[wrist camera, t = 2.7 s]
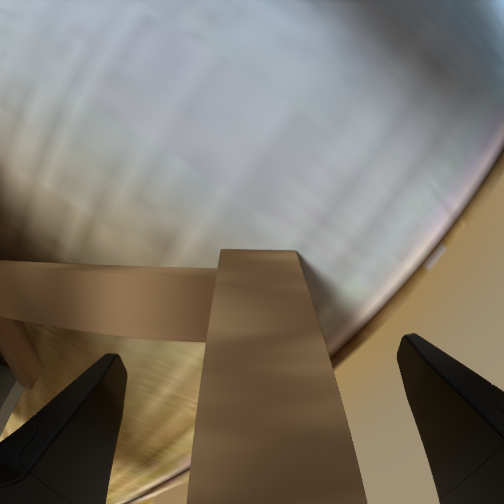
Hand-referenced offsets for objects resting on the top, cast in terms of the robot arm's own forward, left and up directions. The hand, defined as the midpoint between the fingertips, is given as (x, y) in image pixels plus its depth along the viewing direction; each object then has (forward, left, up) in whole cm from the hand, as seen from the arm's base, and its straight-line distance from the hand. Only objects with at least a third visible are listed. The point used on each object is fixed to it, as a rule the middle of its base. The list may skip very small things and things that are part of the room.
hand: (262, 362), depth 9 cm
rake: (+7, 0, -5) cm, 8 cm away
